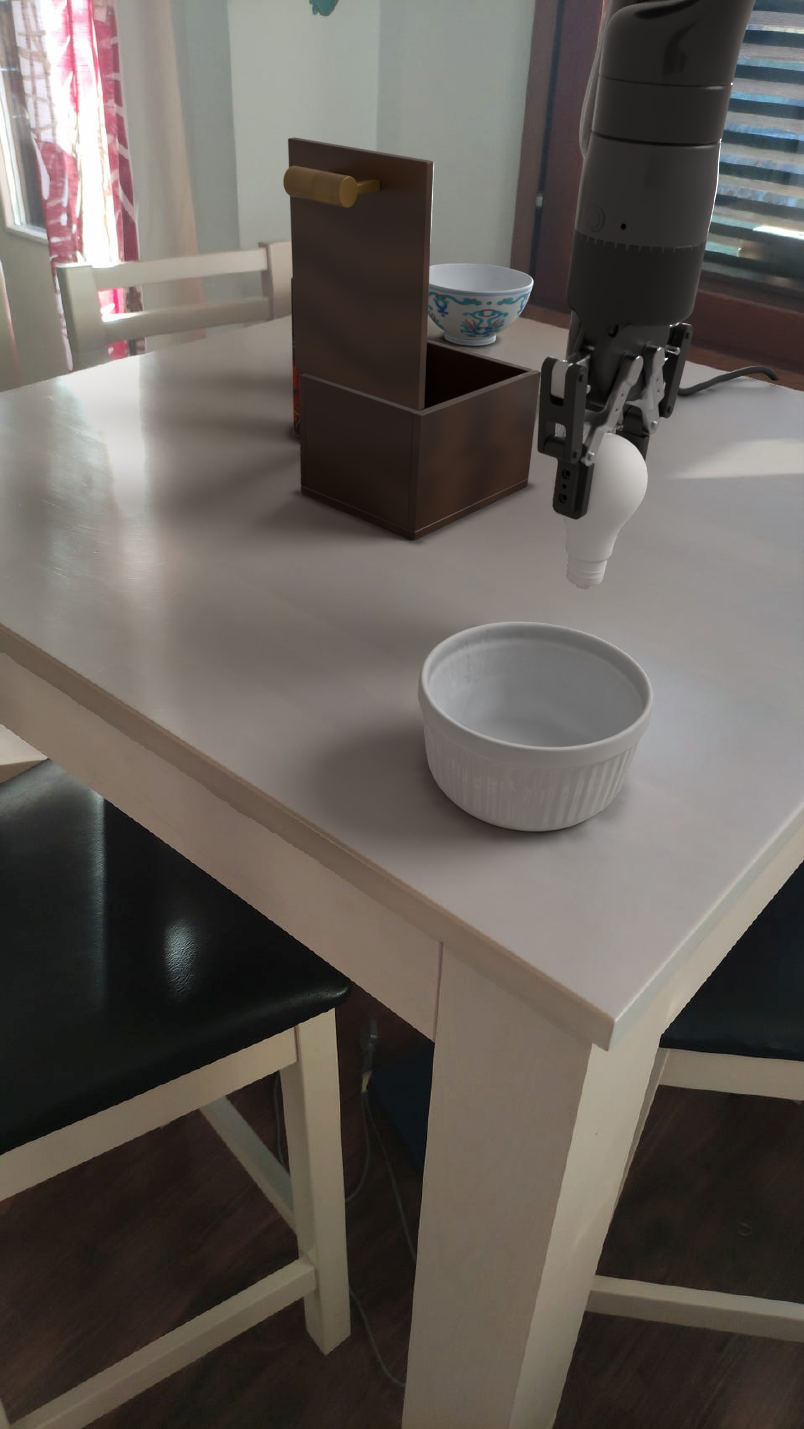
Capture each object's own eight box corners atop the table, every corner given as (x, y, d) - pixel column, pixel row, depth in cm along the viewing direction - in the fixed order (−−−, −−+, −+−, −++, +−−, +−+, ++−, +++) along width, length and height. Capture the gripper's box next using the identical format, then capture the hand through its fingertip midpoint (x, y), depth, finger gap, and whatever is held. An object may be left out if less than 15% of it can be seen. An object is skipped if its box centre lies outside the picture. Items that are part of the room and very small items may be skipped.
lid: (295, 137, 79) (242, 144, 76) (434, 161, 72) (383, 169, 69) (301, 368, 90) (255, 383, 86) (424, 408, 83) (379, 426, 79)
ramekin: (473, 874, 56) (484, 772, 52) (378, 736, 66) (382, 641, 62) (677, 816, 61) (702, 718, 57) (561, 695, 71) (575, 605, 67)
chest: (417, 447, 106) (423, 338, 100) (527, 486, 99) (541, 371, 93) (300, 493, 96) (298, 374, 90) (414, 540, 89) (420, 415, 83)
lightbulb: (633, 576, 75) (661, 427, 69) (618, 616, 71) (647, 460, 64) (549, 560, 77) (569, 412, 70) (530, 598, 72) (549, 444, 66)
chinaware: (404, 349, 134) (407, 285, 129) (422, 319, 146) (425, 259, 141) (522, 360, 132) (529, 295, 127) (530, 328, 144) (536, 268, 140)
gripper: (633, 257, 53) (585, 553, 63) (758, 221, 63) (699, 485, 72) (513, 231, 57) (486, 514, 67) (647, 200, 66) (606, 454, 76)
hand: (597, 498), depth 70 cm, fingers closed on lightbulb, 6 cm apart
